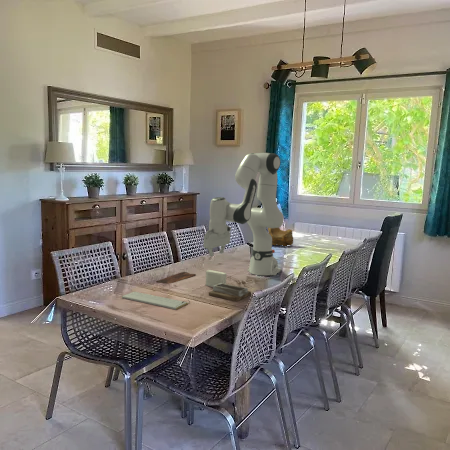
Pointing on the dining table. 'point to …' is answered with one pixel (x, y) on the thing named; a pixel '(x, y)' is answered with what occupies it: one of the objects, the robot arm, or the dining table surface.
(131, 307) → the dining table surface
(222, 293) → the track base
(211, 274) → the pale green rectangular block
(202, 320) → the dining table surface
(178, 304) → the baseboard molding
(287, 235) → the rough brown rock
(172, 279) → the wooden tablet
